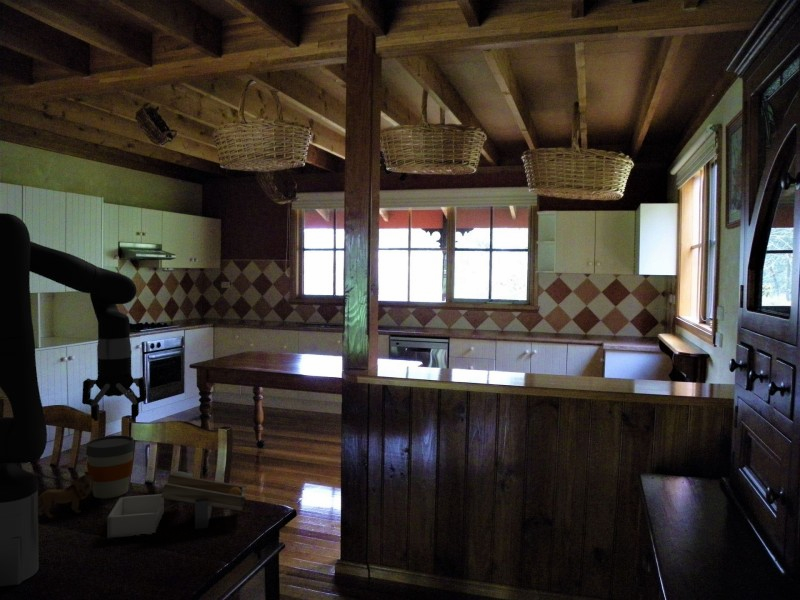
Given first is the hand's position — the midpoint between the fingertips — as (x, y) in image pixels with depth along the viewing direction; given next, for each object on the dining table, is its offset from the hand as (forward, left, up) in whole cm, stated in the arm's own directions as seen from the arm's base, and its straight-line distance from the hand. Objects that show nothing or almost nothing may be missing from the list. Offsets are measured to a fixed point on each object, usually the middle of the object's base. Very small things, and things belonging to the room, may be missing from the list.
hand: (115, 419), depth 138 cm
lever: (+3, -21, -22) cm, 31 cm away
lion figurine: (+11, +15, -27) cm, 33 cm away
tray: (-1, -5, -27) cm, 27 cm away
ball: (-1, -29, -21) cm, 36 cm away
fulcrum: (-1, -21, -27) cm, 34 cm away
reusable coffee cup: (+23, +7, -27) cm, 36 cm away
